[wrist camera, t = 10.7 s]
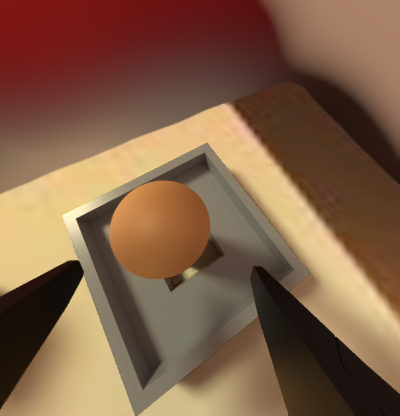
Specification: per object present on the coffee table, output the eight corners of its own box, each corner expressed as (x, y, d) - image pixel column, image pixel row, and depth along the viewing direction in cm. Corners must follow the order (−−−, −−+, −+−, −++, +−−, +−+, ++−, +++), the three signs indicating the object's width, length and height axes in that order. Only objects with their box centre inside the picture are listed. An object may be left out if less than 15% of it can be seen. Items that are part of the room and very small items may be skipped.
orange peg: (207, 242, 19) (228, 211, 6) (188, 271, 18) (170, 303, 5) (180, 224, 19) (153, 165, 7) (161, 251, 18) (87, 238, 6)
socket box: (282, 269, 18) (310, 273, 14) (153, 370, 15) (135, 417, 10) (205, 164, 22) (207, 142, 18) (92, 224, 19) (62, 215, 15)
